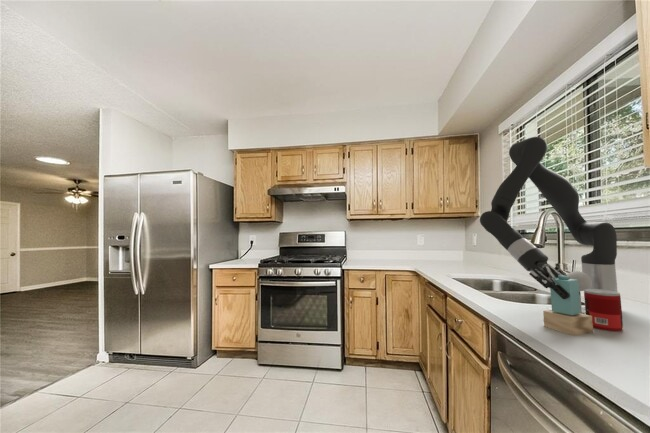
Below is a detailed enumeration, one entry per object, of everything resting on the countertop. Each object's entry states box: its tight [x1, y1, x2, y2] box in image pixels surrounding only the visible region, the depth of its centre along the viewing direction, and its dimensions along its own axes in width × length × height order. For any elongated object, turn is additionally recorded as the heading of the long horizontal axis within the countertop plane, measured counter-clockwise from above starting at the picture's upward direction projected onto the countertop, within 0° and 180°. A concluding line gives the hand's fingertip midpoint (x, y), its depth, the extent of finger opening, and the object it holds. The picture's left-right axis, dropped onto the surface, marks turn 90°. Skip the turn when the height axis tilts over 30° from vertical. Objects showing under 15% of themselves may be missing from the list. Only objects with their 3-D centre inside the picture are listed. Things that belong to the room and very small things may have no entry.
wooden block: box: [542, 309, 594, 336], centre depth 82 cm, size 8×8×5 cm
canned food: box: [583, 289, 624, 332], centre depth 84 cm, size 8×8×11 cm
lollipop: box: [566, 270, 592, 314], centre depth 99 cm, size 7×7×15 cm
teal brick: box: [549, 275, 581, 315], centre depth 83 cm, size 5×5×11 cm
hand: (572, 296), depth 81 cm, fingers open, 5 cm apart
